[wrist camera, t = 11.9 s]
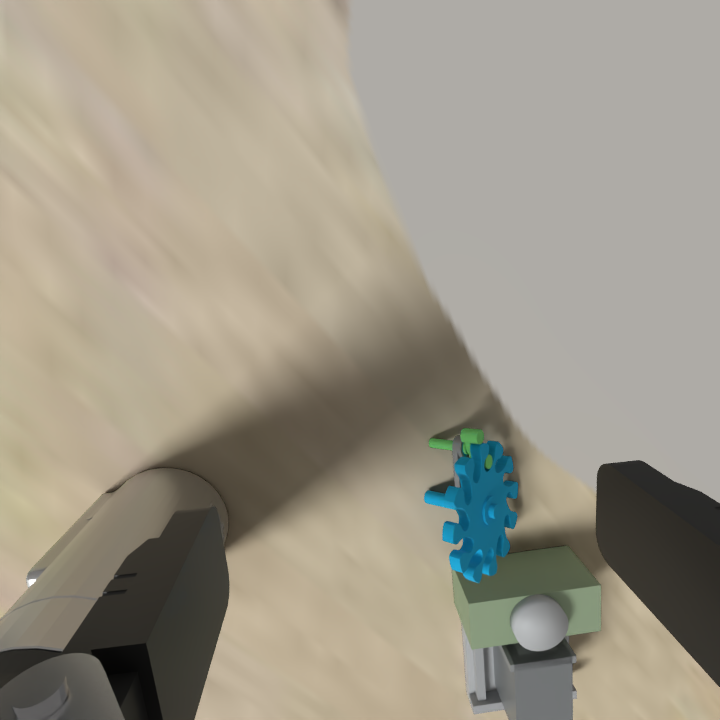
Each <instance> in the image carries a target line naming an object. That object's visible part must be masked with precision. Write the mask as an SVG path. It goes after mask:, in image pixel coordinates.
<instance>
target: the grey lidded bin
mask: <svg viewBox="0 0 720 720" xmlns="http://www.w3.org/2000/svg"><path fill="white" fill-rule="evenodd" d="M493 658H494V678H495V686H496V688H497V691H498V693H499V696H500V699H501V701H502V704H503V706H504V709H505V711H506V714H507V716H508V719H509V720H573V689H572V663H576V655H575V653H574V652H573V650H572V648H571V647H570V645H569V644H568V642H567V640H566V639H565V637H564V639H563V640H562V641H561V642H560V643H559V644H558V645H556V646H555V647H553V648H551V649H548V650H545V651H531V650H528V649H526V648H524V647H523V646H522V645H520V643H515V644H508V645H501V646H494V647H493Z"/></svg>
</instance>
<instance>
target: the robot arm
mask: <svg viewBox="0 0 720 720" xmlns="http://www.w3.org/2000/svg"><path fill="white" fill-rule="evenodd" d="M228 527H229V523H228V513H227V510H226V507H225V504H224V502H223V500H222V498H221V497H220V495H219V493H218V492H217V491H216V490H215V489H214V488H213V487H212V486H211V485H210V484H209V483H208V482H206V481H205V480H204V479H202V478H201V477H199V476H197V475H195V474H192V473H190V472H188V471H184V470H180V469H175V468H158V469H151V470H147V471H145V472H142V473H139V474H137V475H135V476H134V477H132V478H130V479H129V480H127V481H126V482H125V483H124V484H123V485H122V486H121V487H120V488H119V489H118V490H116V491H115V492H112V493H105V494H102V495H101V496H100V497H99V498H98V499H97V500H96V501H95V502H94V503H93V505H92V506H91V507H90V508H89V509H88V510H87V511H86V512H85V513H84V514H83V515H82V516H81V517H80V518H79V519H78V520H77V521H76V522H75V523H74V524H73V525H72V527H71V528H70V529H69V530H68V531H67V532H66V533H65V534H64V535H63V536H62V537H61V538H60V539H59V540H58V541H57V542H56V543H55V544H54V545H53V546H52V548H51V549H50V550H49V551H48V552H47V553H46V554H45V555H44V556H43V557H42V558H41V559H40V560H39V561H38V562H37V563H36V564H35V565H34V566H33V567H32V568H31V570H30V571H29V572H28V574H27V578H26V581H27V585H28V589H27V590H26V592H25V593H24V594H23V595H22V596H21V597H20V598H19V599H18V600H17V601H16V603H15V604H14V605H13V606H12V607H11V608H10V609H9V610H8V611H7V612H6V614H5V615H4V616H3V617H2V618H1V619H0V720H194V719H195V715H196V712H197V709H198V705H199V702H200V698H201V695H202V692H203V688H204V685H205V681H206V678H207V675H208V671H209V668H210V664H211V661H212V657H213V654H214V651H215V647H216V644H217V640H218V637H219V634H220V630H221V627H222V623H223V620H224V617H225V613H226V610H227V606H228V599H229V574H228V567H227V561H226V555H225V549H224V543H225V541H226V538H227V533H228ZM596 538H597V542H598V546H599V549H600V551H601V553H602V556H603V557H604V559H605V561H606V562H607V563H608V565H609V566H610V567H611V568H612V569H613V570H614V571H615V572H616V573H617V575H618V576H619V577H620V578H621V579H622V580H623V581H624V582H625V583H626V584H627V586H628V587H629V588H630V589H631V590H632V591H633V592H634V593H635V594H636V595H637V597H638V598H639V599H640V600H641V601H642V602H643V603H644V604H645V605H646V607H647V608H648V609H649V610H650V611H651V612H652V613H653V614H654V615H655V616H656V618H657V619H658V620H659V621H660V622H661V623H662V624H663V625H664V626H665V627H666V629H667V630H668V631H669V632H670V633H671V634H672V635H673V636H674V637H675V639H676V640H677V641H678V642H679V643H680V644H681V645H682V646H683V647H684V648H685V650H686V651H687V652H688V653H689V654H690V655H691V656H692V657H693V658H694V659H695V661H696V662H697V663H698V664H699V665H700V666H701V667H702V668H703V669H704V671H705V672H706V673H707V674H708V675H709V676H710V677H711V678H712V679H713V680H714V682H715V683H716V684H717V685H718V686H719V687H720V503H718V502H716V501H715V500H713V499H711V498H710V497H709V496H707V495H705V494H703V493H702V492H700V491H698V490H695V489H692V488H690V487H687V486H685V485H682V484H679V483H677V482H674V481H672V480H671V479H670V478H668V477H666V476H665V475H663V474H662V473H660V472H659V471H657V470H656V469H654V468H652V467H651V466H650V465H648V464H646V463H645V462H643V461H640V460H636V461H627V462H618V463H609V464H603V465H601V466H600V468H599V470H598V473H597V501H596Z"/></svg>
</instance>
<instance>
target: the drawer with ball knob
mask: <svg viewBox="0 0 720 720" xmlns="http://www.w3.org/2000/svg"><path fill="white" fill-rule="evenodd" d="M496 561H497V572H496V574H495V575H493V576H489V575H486V574H483V573H482V578H481V581H480V583H476V582H473V581H470V580H468V579H466V578H465V577H464V576H463V573H461V572H458V571H455V570H452V578H453V592H454V603H455V606H456V609H457V611H458V614H459V617H460V620H461V622H462V636H463V650H464V664H465V678H466V692H467V695H468V698H469V701H470V704H471V707H472V710H473V713H474V714H479V713H485V712H492V711H499V710H505V709H504V706H503V704H502V701H501V699H500V696H499V693H498V691H497V688H496V686H495V678H494V658H493V647H494V646H501V645H508V644H515V643H520V645H522V646H523V647H524V648H526V649H528V650H531V651H545V650H548V649H551V648H553V647H555V646H556V645H558V644H559V643H560V642H561V641H562V640H563V639H564V637H565V639H566V640H567V642H568V644H569V635H576V634H583V633H590V632H597V631H601V585H600V583H599V582H598V581H597V580H596V579H595V577H594V576H593V575H592V574H591V573H590V572H589V570H588V569H587V568H586V567H585V566H584V564H583V563H582V562H581V561H580V560H579V558H578V557H577V556H576V555H575V554H574V552H573V551H572V550H571V549H570V548H569V546H560V547H553V548H546V549H539V550H531V551H524V552H517V553H510V554H507V555H506V556H505V557H501V556H498V555H496ZM572 689H573V699H577V691H576V689H575V687H574V686H573V684H572Z"/></svg>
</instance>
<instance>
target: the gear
mask: <svg viewBox="0 0 720 720" xmlns="http://www.w3.org/2000/svg"><path fill="white" fill-rule="evenodd" d="M483 440H484V433H483V431H482V430H480V429H470V428H463V429H462V430H461V434H460V435H457V436H456V437H455V438H454V440H453V441H452V440H444V439H435V438H431V439H430V440H429V446H430V447H431V448H438V449H445V450H452V453H453V466H454V480H455V487H454V486H449V487H448V488H447V491H446V493H445V494H444V493H439V492H435V491H430V490H428V491H427V492H426V493H425V496H424V500H425V502H426V503H428V504H432V505H437V506H441V507H445V508H450V509H454V510H456V511H457V513H458V515H459V523H458V524H457V523H453V522H449V521H446V522H445V523H444V526H443V541H445V542H449V543H452V544H458V543H459V541H460V540H461V539H462V538H463V545H462V548H461V549H460V550H453V551H452V552H451V553H450V555H449V560H450V565H451V568H452V570H455V571H458V572H461V573H463V576H464V577H465V578H466V579H468V580H470V581H473V582H476V583H480V581H481V578H482V573H483V574H486V575H489V576H493V575H495V574H496V572H497V561H496V555H498V556H501V557H505V556H506V555H507V553H508V551H509V549H510V543H509V541H508V540H507V538H506V534H505V527H507V528H511V529H514V527H515V524H516V521H517V513H516V512H513V511H510V509H509V507H508V505H507V502H506V497H508V498H514V499H516V498H517V494H518V483H517V482H514V481H508V480H506V481H505V482H504V483H503V476H504V473H512V471H513V461H512V457H511V456H504V455H503V447H502V445H501V444H500V443H499V442H497V441H488V442H487V444H486V443H482V442H483ZM469 455H470V458H469ZM496 461H497V462H496ZM495 464H496V465H495Z"/></svg>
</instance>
